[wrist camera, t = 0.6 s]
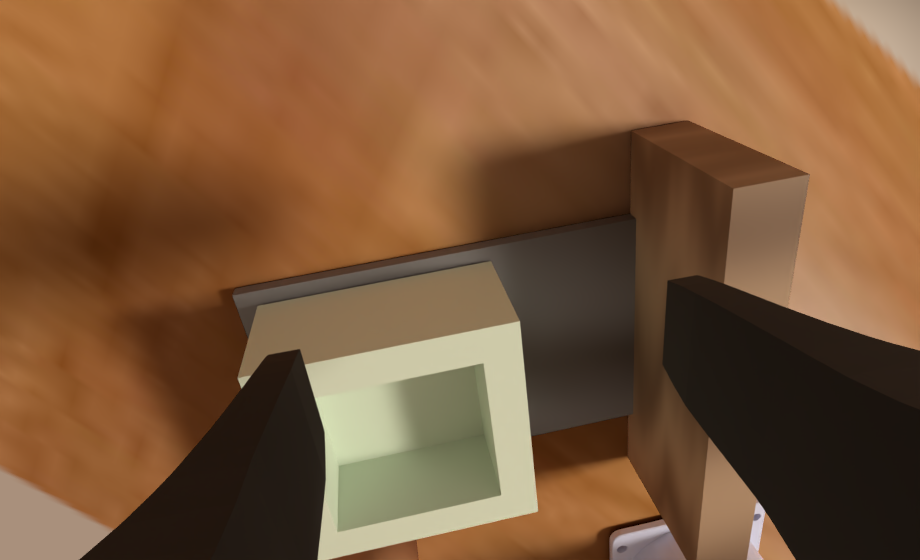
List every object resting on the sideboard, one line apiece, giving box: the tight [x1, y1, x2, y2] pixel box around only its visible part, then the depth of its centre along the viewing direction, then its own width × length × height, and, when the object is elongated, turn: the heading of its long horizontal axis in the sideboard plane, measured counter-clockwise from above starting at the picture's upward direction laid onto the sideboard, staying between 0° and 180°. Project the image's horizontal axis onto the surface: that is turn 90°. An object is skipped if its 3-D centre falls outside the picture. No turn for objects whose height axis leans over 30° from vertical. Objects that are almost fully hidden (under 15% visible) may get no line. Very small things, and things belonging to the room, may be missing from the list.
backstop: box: [232, 121, 810, 560], centre depth 20 cm, size 15×16×6 cm
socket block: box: [238, 261, 538, 560], centre depth 20 cm, size 8×8×4 cm
